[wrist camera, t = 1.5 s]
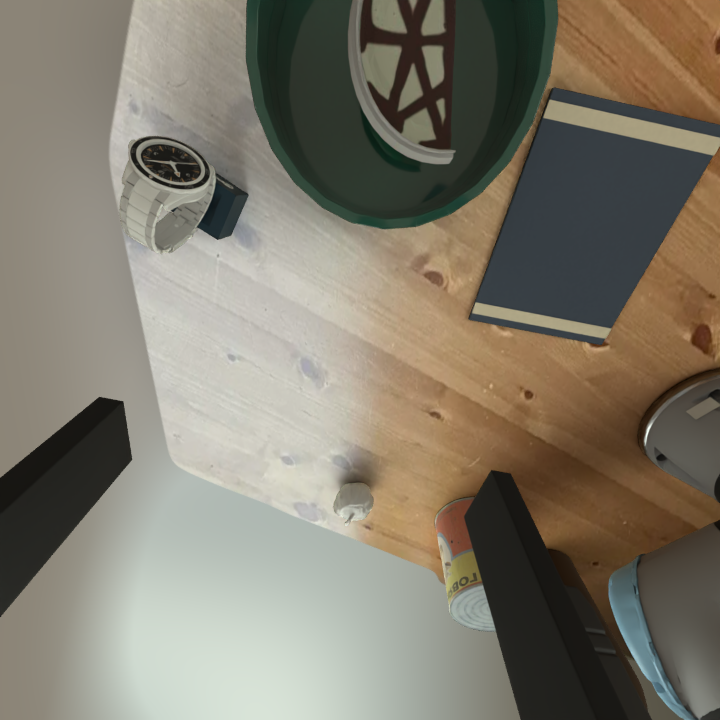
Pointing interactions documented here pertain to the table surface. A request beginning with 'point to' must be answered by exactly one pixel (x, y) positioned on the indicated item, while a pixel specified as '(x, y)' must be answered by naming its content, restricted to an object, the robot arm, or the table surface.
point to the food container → (405, 72)
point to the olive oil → (573, 579)
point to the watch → (175, 195)
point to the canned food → (462, 568)
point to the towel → (590, 214)
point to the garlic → (353, 502)
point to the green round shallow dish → (352, 128)
